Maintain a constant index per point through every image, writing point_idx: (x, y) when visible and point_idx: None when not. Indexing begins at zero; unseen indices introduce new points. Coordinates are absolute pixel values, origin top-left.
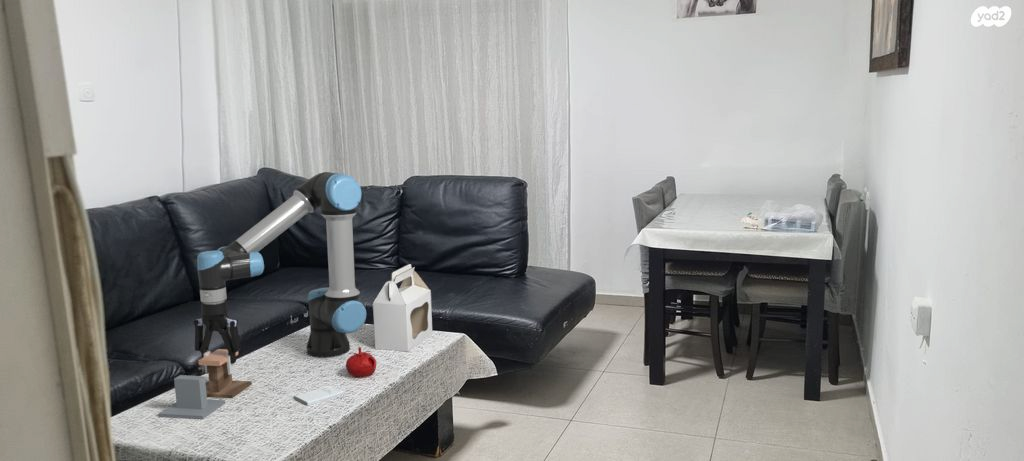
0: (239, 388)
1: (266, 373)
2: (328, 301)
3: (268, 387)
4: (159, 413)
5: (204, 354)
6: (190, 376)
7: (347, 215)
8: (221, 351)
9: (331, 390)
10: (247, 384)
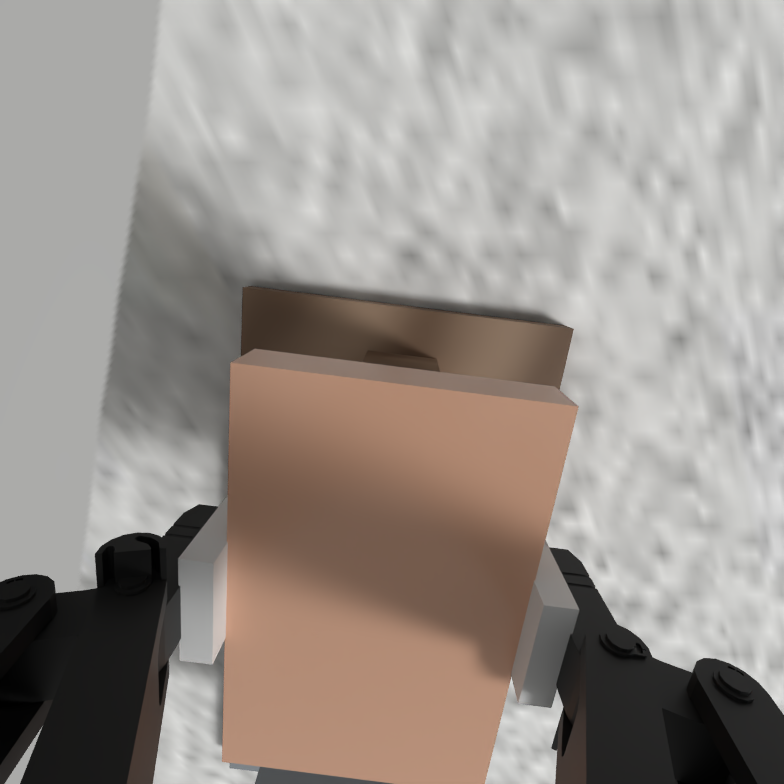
0: None
1: (620, 57)
2: None
3: (702, 383)
4: (235, 767)
5: (196, 649)
6: None
7: None
8: (344, 473)
9: None
10: (559, 388)
